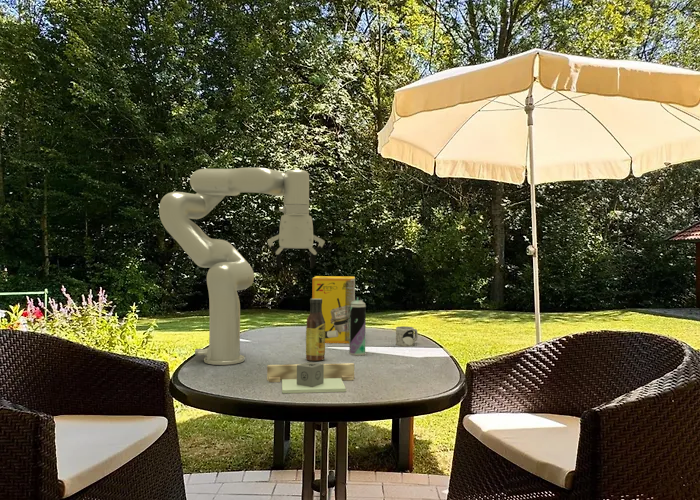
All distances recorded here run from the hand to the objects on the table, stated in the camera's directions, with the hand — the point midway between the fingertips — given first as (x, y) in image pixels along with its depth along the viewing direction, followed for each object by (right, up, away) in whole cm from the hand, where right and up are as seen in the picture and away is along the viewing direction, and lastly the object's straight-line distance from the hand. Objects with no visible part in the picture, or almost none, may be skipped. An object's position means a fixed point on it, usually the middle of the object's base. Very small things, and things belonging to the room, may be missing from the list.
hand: (295, 267), depth 161 cm
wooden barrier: (+6, -30, -13) cm, 34 cm away
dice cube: (+6, -30, -22) cm, 37 cm away
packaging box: (+10, -31, +52) cm, 61 cm away
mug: (+38, -31, +43) cm, 65 cm away
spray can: (+19, -31, +23) cm, 43 cm away
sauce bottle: (+5, -31, +13) cm, 34 cm away
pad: (+7, -30, -22) cm, 38 cm away
